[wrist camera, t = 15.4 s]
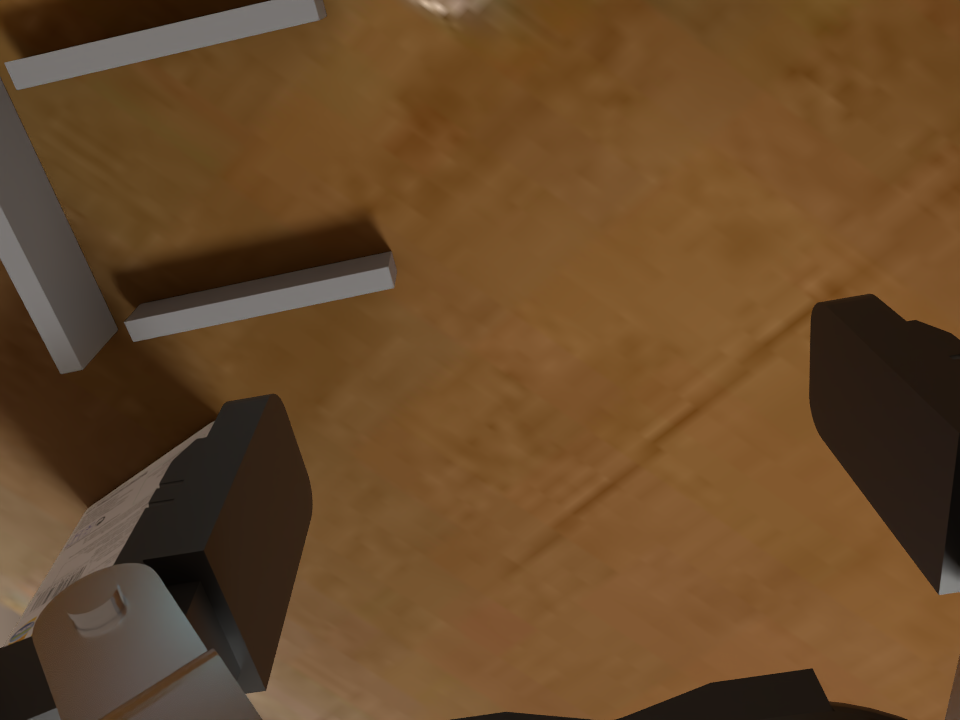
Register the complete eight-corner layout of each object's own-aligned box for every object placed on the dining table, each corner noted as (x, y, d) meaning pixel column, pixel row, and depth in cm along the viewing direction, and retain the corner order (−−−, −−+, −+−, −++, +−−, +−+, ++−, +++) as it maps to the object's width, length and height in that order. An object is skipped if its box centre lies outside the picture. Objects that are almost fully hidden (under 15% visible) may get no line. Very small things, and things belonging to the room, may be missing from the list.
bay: (319, -12, 31) (302, -7, 27) (397, 271, 36) (391, 306, 32) (-30, 70, 31) (-91, 85, 28) (98, 333, 37) (60, 374, 33)
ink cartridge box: (159, 572, 44) (39, 829, 31) (82, 509, 42) (-82, 757, 29) (293, 486, 41) (222, 725, 29) (219, 414, 39) (106, 638, 26)
